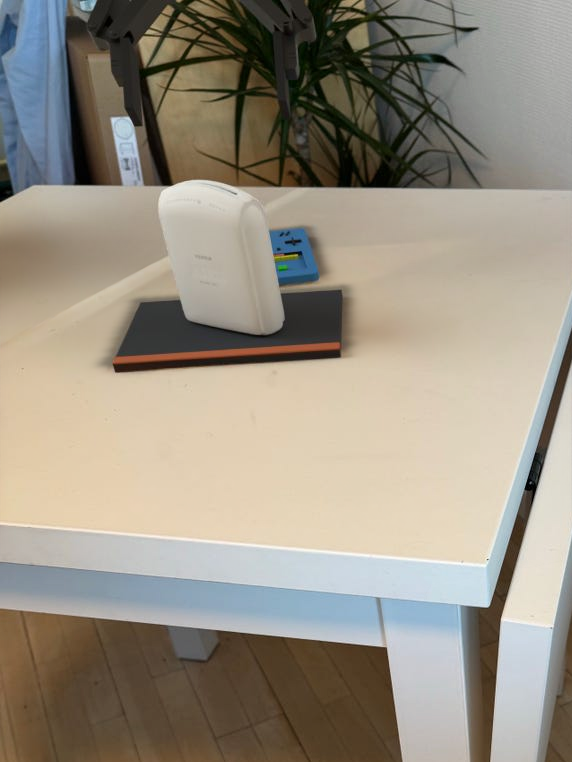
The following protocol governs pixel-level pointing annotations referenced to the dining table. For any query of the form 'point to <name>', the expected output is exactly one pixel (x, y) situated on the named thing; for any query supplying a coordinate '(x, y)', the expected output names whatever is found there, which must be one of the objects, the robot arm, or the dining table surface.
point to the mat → (231, 336)
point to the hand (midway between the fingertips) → (209, 114)
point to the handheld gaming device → (293, 256)
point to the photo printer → (221, 256)
